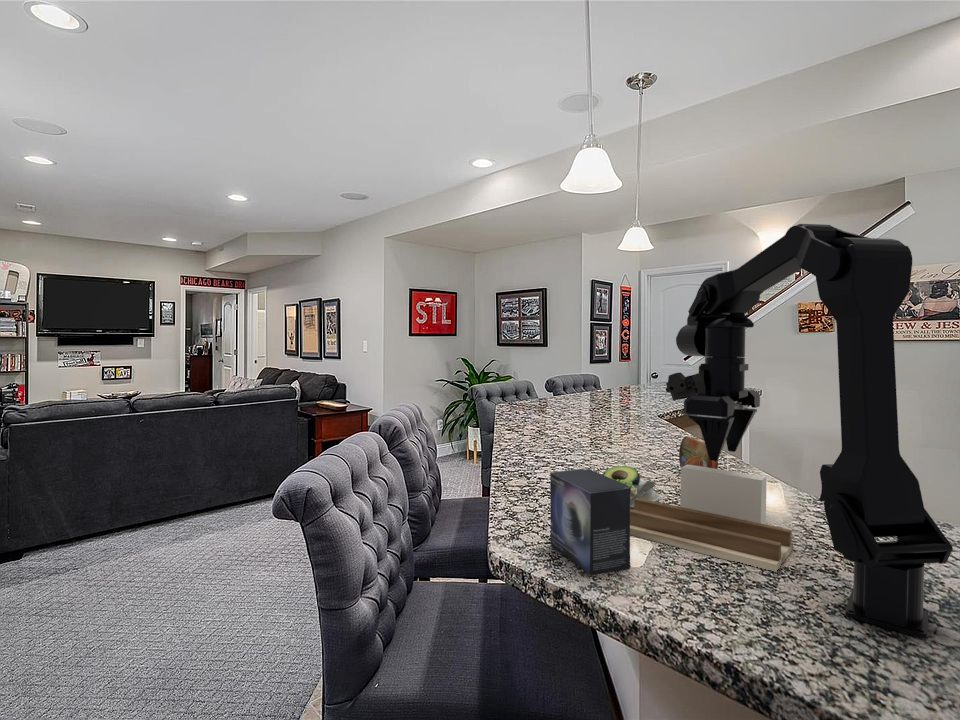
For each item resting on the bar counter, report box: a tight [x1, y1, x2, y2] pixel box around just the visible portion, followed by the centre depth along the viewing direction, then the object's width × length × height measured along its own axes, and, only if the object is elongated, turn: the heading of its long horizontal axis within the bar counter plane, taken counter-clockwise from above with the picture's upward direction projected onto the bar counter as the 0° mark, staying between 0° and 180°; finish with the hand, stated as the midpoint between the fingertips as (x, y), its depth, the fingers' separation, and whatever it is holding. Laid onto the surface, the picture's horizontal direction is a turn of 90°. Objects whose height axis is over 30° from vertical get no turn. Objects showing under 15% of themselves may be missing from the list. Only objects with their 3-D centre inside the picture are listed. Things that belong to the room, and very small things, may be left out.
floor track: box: [630, 498, 794, 573], centre depth 75 cm, size 10×22×3 cm, turn 49°
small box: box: [549, 467, 631, 576], centre depth 69 cm, size 11×6×10 cm, turn 21°
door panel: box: [679, 465, 768, 525], centre depth 83 cm, size 3×12×8 cm, turn 49°
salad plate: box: [602, 465, 661, 510], centre depth 96 cm, size 19×18×5 cm
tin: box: [678, 436, 719, 469], centre depth 109 cm, size 15×3×8 cm, turn 179°
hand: (723, 455), depth 83 cm, fingers open, 9 cm apart
